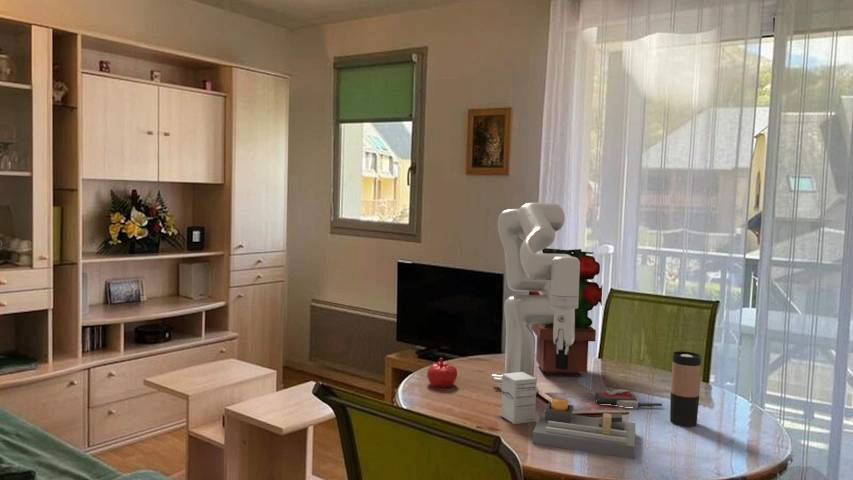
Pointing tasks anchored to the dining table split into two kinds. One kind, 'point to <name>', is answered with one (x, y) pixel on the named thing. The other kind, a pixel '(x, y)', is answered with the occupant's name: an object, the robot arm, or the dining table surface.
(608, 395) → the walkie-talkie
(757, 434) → the dining table surface
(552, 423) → the panel
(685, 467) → the dining table surface
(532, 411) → the supplement box
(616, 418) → the black rocker
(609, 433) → the golden rectangular block
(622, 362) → the dining table surface
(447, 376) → the pomegranate
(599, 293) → the potted plant
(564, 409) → the orange button
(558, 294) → the robot arm
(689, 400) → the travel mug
